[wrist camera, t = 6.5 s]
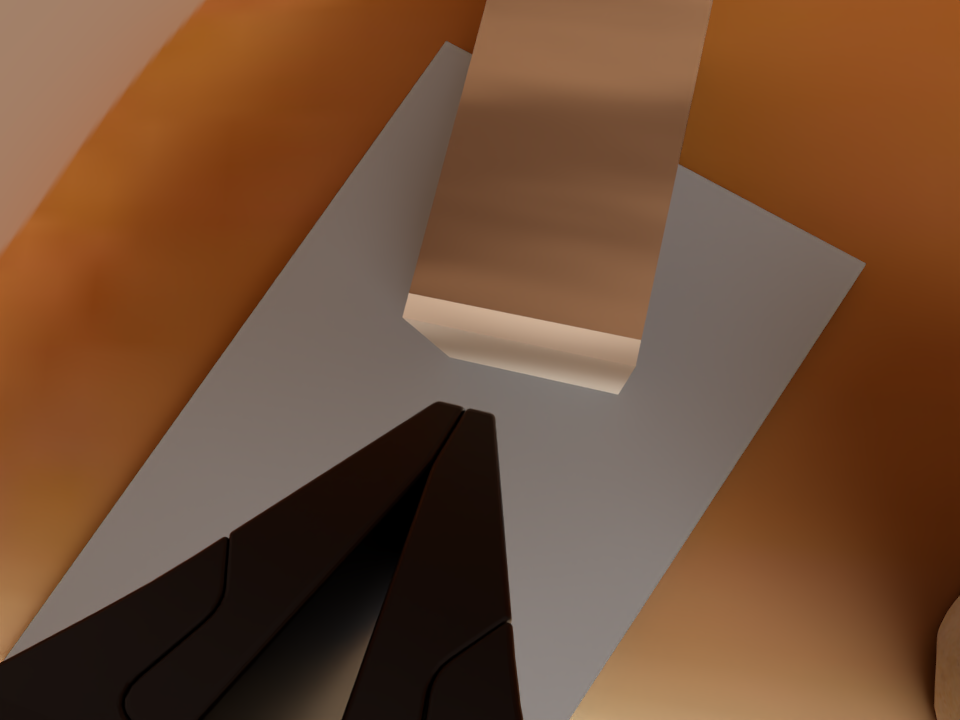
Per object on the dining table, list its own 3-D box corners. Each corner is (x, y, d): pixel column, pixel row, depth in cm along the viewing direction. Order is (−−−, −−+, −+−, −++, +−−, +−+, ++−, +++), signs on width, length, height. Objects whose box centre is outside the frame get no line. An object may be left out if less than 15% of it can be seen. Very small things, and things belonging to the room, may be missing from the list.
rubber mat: (359, 1034, 14) (353, 1051, 14) (6, 670, 17) (-7, 674, 17) (858, 268, 15) (866, 263, 15) (448, 49, 18) (446, 40, 18)
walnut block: (635, 367, 11) (736, -112, 12) (402, 317, 12) (519, -125, 13) (618, 394, 15) (693, 41, 16) (449, 357, 16) (533, 24, 17)
